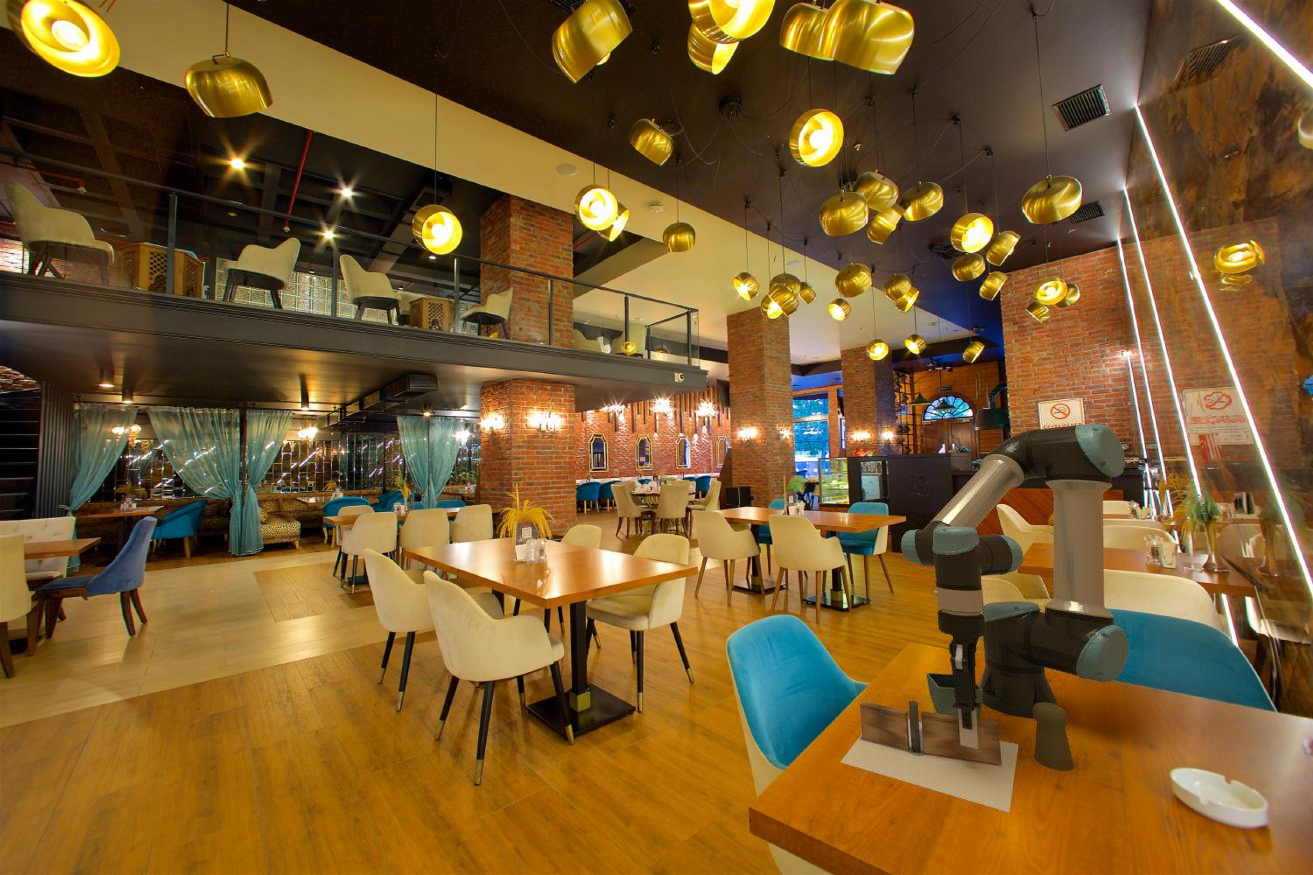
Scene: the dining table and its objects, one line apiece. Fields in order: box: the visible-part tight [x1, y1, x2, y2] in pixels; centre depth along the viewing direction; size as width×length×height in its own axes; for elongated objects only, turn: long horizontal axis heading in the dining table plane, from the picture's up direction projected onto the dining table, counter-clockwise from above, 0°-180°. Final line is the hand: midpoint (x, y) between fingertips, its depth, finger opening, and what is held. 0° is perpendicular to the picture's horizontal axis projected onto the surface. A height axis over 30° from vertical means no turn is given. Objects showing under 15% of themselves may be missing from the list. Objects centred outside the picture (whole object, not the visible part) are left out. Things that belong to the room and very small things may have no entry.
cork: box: [1032, 702, 1075, 772], centre depth 96 cm, size 6×6×11 cm
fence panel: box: [920, 711, 1002, 764], centre depth 98 cm, size 12×2×7 cm, turn 68°
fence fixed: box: [859, 700, 921, 753], centre depth 103 cm, size 11×2×9 cm, turn 53°
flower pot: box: [925, 672, 983, 719], centre depth 114 cm, size 9×9×9 cm
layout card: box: [840, 718, 1019, 814], centre depth 99 cm, size 26×26×1 cm
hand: (969, 745), depth 95 cm, fingers closed
